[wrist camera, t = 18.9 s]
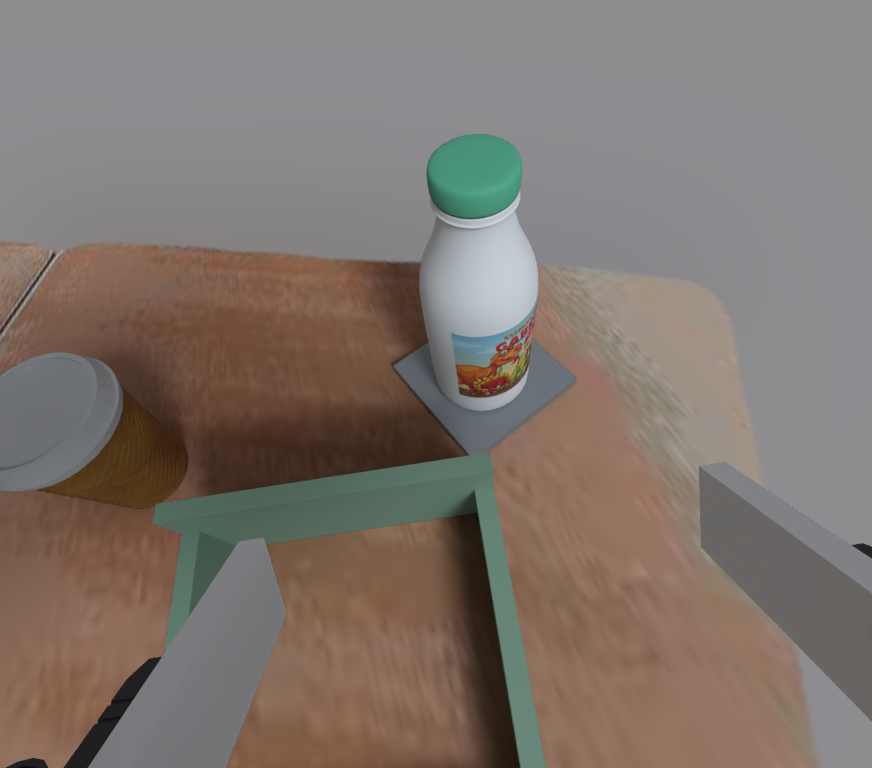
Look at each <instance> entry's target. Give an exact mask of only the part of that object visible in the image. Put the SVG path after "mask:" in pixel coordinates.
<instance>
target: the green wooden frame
mask: <svg viewBox="0 0 872 768" xmlns="http://www.w3.org/2000/svg"><path fill="white" fill-rule="evenodd" d="M473 513H477V514H478V520H479V526H480V532H481V538H482V544H483V550H484V556H485V562H486V568H487V574H488V580H489V586H490V593H491V599H492V605H493V611H494V617H495V623H496V629H497V635H498V641H499V647H500V653H501V659H502V665H503V671H504V677H505V683H506V690H507V696H508V702H509V708H510V714H511V720H512V726H513V732H514V738H515V744H516V750H517V756H518V762H519V768H546V766H545V760H544V755H543V750H542V744H541V739H540V734H539V728H538V723H537V718H536V712H535V707H534V702H533V696H532V691H531V685H530V680H529V675H528V669H527V664H526V659H525V653H524V648H523V643H522V637H521V632H520V627H519V621H518V616H517V611H516V605H515V600H514V595H513V589H512V584H511V579H510V573H509V568H508V563H507V557H506V552H505V547H504V541H503V536H502V531H501V525H500V520H499V515H498V509H497V504H496V498H495V493H494V488H493V467H492V462H491V457H490V452H489V453H482V454H476V455H469V456H463V457H456V458H450V459H443V460H437V461H430V462H424V463H417V464H411V465H404V466H398V467H391V468H385V469H378V470H372V471H365V472H359V473H352V474H346V475H339V476H333V477H326V478H320V479H313V480H307V481H300V482H294V483H287V484H281V485H274V486H268V487H261V488H255V489H248V490H242V491H235V492H229V493H222V494H216V495H209V496H203V497H196V498H190V499H183V500H177V501H170V502H164V503H157V504H156V505H155V511H154V517H153V522H152V524H154V525H157V526H160V527H163V528H166V529H169V530H171V531H174V532H177V533H180V534H182V535H181V542H180V548H179V555H178V562H177V569H176V576H175V582H174V589H173V596H172V603H171V610H170V617H169V623H168V630H167V637H166V644H165V651H164V653H165V652H166V650H167V649H168V647H169V646H170V644H171V643H172V641H173V640H174V638H175V637H176V635H177V634H178V632H179V631H180V629H181V628H182V626H183V625H184V623H185V622H186V620H187V619H188V617H189V616H190V614H191V613H192V611H193V610H194V608H195V607H196V605H197V604H198V602H199V601H200V599H201V598H202V596H203V595H204V593H205V592H206V590H207V589H208V587H209V586H210V584H211V583H212V581H213V580H214V578H215V577H216V575H217V574H218V572H219V571H220V569H221V568H222V566H223V565H224V563H225V562H226V560H227V559H228V557H229V556H230V554H231V553H232V551H233V550H234V548H235V547H236V545H237V544H238V542H239V541H245V540H251V539H257V538H263V537H264V539H265V543H266V544H273V543H279V542H286V541H293V540H299V539H306V538H313V537H319V536H326V535H333V534H339V533H346V532H353V531H360V530H366V529H373V528H380V527H386V526H393V525H400V524H406V523H413V522H420V521H426V520H433V519H440V518H446V517H453V516H460V515H466V514H473Z"/></svg>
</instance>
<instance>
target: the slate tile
mask: <svg viewBox="0 0 872 768" xmlns="http://www.w3.org/2000/svg"><path fill="white" fill-rule="evenodd" d="M393 367H394V370H395V372H396V373H397V375H398V376H399V377H400V378H401V379H402V380H403V382H404V383H405V384H406V385H407V386H408V387H409V389H410V390H411V391H412V392H413V393H414V394H415V396H416V397H417V398H418V399H419V400H420V402H421V403H422V404H423V405H424V406H425V407H426V409H427V410H428V411H429V412H430V413H431V414H432V416H433V417H434V418H435V419H436V420H437V421H438V423H439V424H440V425H441V426H442V427H443V428H444V430H445V431H446V432H447V433H448V434H449V435H450V437H451V438H452V439H453V440H454V441H455V443H456V444H457V445H458V446H459V447H460V448H461V450H462V451H463V452H464V453H465V454H466V455H467V456H469V455H476V454H482V453H487V452H488V451H489V450H491V449H492V448H493V447H495V446H496V445H497V444H498V443H500V442H501V441H502V440H504V439H505V438H506V437H507V436H509V435H510V434H511V433H513V432H514V431H515V430H516V429H518V428H519V427H520V426H522V425H523V424H524V423H525V422H527V421H528V420H529V419H531V418H532V417H533V416H534V415H536V414H537V413H538V412H540V411H541V410H542V409H544V408H545V407H546V406H547V405H549V404H550V403H551V402H553V401H554V400H555V399H556V398H558V397H559V396H560V395H562V394H563V393H564V392H565V391H567V390H568V389H569V388H571V387H572V386H573V385H574V384H575V382H576V379H577V378H576V377H575V376H574V375H573V374H572V373H571V372H569V371H568V370H567V369H566V368H565V367H564V366H563V365H562V364H561V363H559V362H558V361H557V360H556V359H555V358H554V357H553V356H552V355H551V354H549V353H548V352H547V351H546V350H545V349H544V348H543V347H542V346H541V345H539V344H538V343H537V342H536V341H535V340H534V339H533V341H532V348H531V356H530V363H529V370H528V375H527V379H526V383H525V385H524V387H523V389H522V390H521V392H520V393H519V394H518V396H517V397H516V398H514V399H513V400H512V401H511V402H509V403H508V404H506V405H504V406H502V407H500V408H496V409H493V410H487V411H475V410H469V409H466V408H463V407H460V406H458V405H456V404H455V403H453V402H452V401H450V400H449V399H448V398H447V397H446V396H445V395H444V394H443V392H442V391H441V389H440V387H439V385H438V383H437V379H436V376H435V372H434V367H433V362H432V358H431V353H430V348H429V343H428V342H427V343H426V344H424V345H423V346H421V347H420V348H418V349H417V350H416V351H414V352H413V353H411V354H410V355H408V356H407V357H405V358H404V359H402V360H401V361H399V362H398V363H397V364H395V365H394V366H393Z"/></svg>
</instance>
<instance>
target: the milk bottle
mask: <svg viewBox="0 0 872 768" xmlns="http://www.w3.org/2000/svg"><path fill="white" fill-rule="evenodd" d="M521 178H522V162H521V158H520V155H519V153H518V151H517V150H516V148H515V147H514V146H513V145H512V144H510V143H509V142H507V141H506V140H504V139H501V138H499V137H496V136H491V135H486V134H472V135H465V136H461V137H457V138H455V139H452V140H450V141H448V142H446V143H444V144H443V145H441V146H440V147H439V148H438V149H436V150H435V152H434V153H433V154H432V155H431V157H430V159H429V162H428V166H427V183H428V189H429V194H430V203H431V207H432V210H433V212H434V213H435V214H436V221H435V226H434V230H433V232H432V235H431V237H430V239H429V242H428V244H427V246H426V249H425V251H424V254H423V258H422V262H421V266H420V274H419V291H420V298H421V306H422V312H423V317H424V323H425V328H426V333H427V338H428V343H429V348H430V353H431V358H432V362H433V367H434V372H435V376H436V379H437V383H438V385H439V387H440V389H441V391H442V392H443V394H444V395H445V396H446V397H447V398H448V399H449V400H450V401H452V402H453V403H455V404H456V405H458V406H460V407H463V408H466V409H469V410H475V411H487V410H493V409H496V408H500V407H502V406H504V405H506V404H508V403H509V402H511V401H512V400H513V399H514V398H516V397H517V396H518V394H519V393H520V392H521V390H522V389H523V387H524V385H525V383H526V379H527V375H528V370H529V363H530V356H531V348H532V341H533V333H534V325H535V316H536V308H537V297H538V270H537V264H536V260H535V256H534V253H533V250H532V248H531V245H530V243H529V241H528V239H527V238H526V236H525V234H524V232H523V231H522V229H521V227H520V224H519V222H518V219H517V216H516V212H515V209H516V207H517V206H518V204H519V201H520V187H521Z"/></svg>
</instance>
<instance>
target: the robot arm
mask: <svg viewBox="0 0 872 768" xmlns="http://www.w3.org/2000/svg"><path fill="white" fill-rule="evenodd" d="M699 487H700V525H701V548H702V549H703V550H704V551H705V552H706V553H707V554H708V555H709V556H710V557H711V558H712V559H713V560H714V561H715V562H716V563H717V564H718V565H719V566H720V567H721V568H722V569H723V570H724V571H725V572H726V573H727V574H728V575H729V576H730V577H731V578H732V579H733V580H734V581H735V582H736V583H737V584H738V585H739V586H740V587H741V588H742V589H743V590H744V591H745V592H746V593H747V594H748V595H749V597H750V598H751V599H752V600H753V601H754V602H755V603H756V604H757V605H758V606H759V607H760V608H761V609H762V610H763V611H764V612H765V613H766V614H767V615H768V616H769V617H770V618H771V619H772V620H773V621H774V622H775V623H776V624H777V625H778V626H779V627H780V628H781V629H782V630H783V631H784V632H785V633H786V634H787V635H788V636H789V637H790V638H791V639H792V640H793V641H794V642H795V643H796V644H797V645H798V647H799V648H800V649H801V650H802V651H803V652H804V653H805V654H807V656H808V657H809V658H810V659H811V660H812V661H813V662H814V663H815V664H816V665H817V666H818V667H819V668H820V669H821V670H822V671H823V672H824V673H825V674H826V675H827V676H828V677H829V678H830V679H831V680H832V681H833V682H834V683H835V684H836V685H837V686H838V687H839V688H840V689H841V690H842V691H843V692H844V693H845V694H846V695H847V696H848V697H849V699H850V700H852V701H853V703H854V704H855V705H856V706H857V707H858V708H859V709H860V710H861V711H862V712H863V713H864V714H865V715H866V716H867V717H868V718H869V719H870V720H871V721H872V547H871V546H869V545H866V544H856V545H850V544H849V543H847V542H845V541H844V540H843V539H841V538H839V537H838V536H837V535H835V534H834V533H832V532H830V531H829V530H827V529H826V528H824V527H823V526H821V525H820V524H818V523H817V522H815V521H814V520H812V519H810V518H809V517H808V516H806V515H805V514H803V513H802V512H800V511H798V510H797V509H795V508H794V507H792V506H791V505H789V504H788V503H786V502H785V501H783V500H782V499H780V498H779V497H777V496H776V495H774V494H773V493H771V492H770V491H768V490H766V489H765V488H764V487H762V486H760V485H759V484H757V483H756V482H754V481H753V480H751V479H750V478H748V477H747V476H745V475H744V474H742V473H741V472H739V471H738V470H736V469H735V468H733V467H732V466H730V465H729V464H727V463H725V462H722V463H716V464H710V465H703V466H699ZM285 616H286V611H285V607H284V604H283V600H282V597H281V594H280V590H279V587H278V583H277V580H276V577H275V573H274V570H273V566H272V563H271V560H270V556H269V553H268V549H267V546H266V543H265V539H264V537H263V538H257V539H251V540H245V541H239V542H238V544H237V545H236V547H235V548H234V550H233V551H232V553H231V554H230V556H229V557H228V559H227V560H226V562H225V563H224V565H223V566H222V568H221V569H220V571H219V572H218V574H217V575H216V577H215V578H214V580H213V581H212V583H211V584H210V586H209V587H208V589H207V590H206V592H205V593H204V595H203V596H202V598H201V599H200V601H199V602H198V604H197V605H196V607H195V608H194V610H193V611H192V613H191V614H190V616H189V617H188V619H187V620H186V622H185V623H184V625H183V626H182V628H181V629H180V631H179V632H178V634H177V635H176V637H175V638H174V640H173V641H172V643H171V644H170V646H169V647H168V649H167V650H166V652H165V653H164V655H163V656H162V657H158V658H151V659H148V660H147V661H146V662H145V663H144V664H143V665H142V666H141V667H140V668H139V669H138V670H136V671H135V672H134V673H133V674H132V675H131V676H130V677H129V678H128V679H127V680H126V681H125V683H124V684H123V685H122V687H121V688H120V690H119V691H118V692H117V694H116V695H115V697H114V698H113V699H112V701H111V705H109V706H107V708H106V709H105V711H104V712H103V713H102V715H101V716H100V718H99V719H98V723H97V724H96V725H94V726H93V727H92V729H91V730H90V732H89V733H88V734H87V736H86V737H85V739H84V740H83V741H82V743H81V744H80V746H79V747H78V748H77V750H76V751H75V753H74V754H73V755H72V757H71V758H70V759H69V761H68V762H67V764H66V765H65V766H64V768H226V766H227V763H228V761H229V758H230V756H231V753H232V751H233V748H234V746H235V743H236V741H237V738H238V735H239V733H240V730H241V728H242V725H243V723H244V720H245V718H246V715H247V713H248V710H249V708H250V705H251V702H252V700H253V697H254V695H255V692H256V690H257V687H258V685H259V682H260V680H261V677H262V675H263V672H264V669H265V667H266V664H267V662H268V659H269V657H270V654H271V652H272V649H273V647H274V644H275V641H276V639H277V636H278V634H279V631H280V629H281V626H282V624H283V621H284V619H285ZM6 768H48V767H47V765H46V763H45V761H44V760H41V759H36V758H31V759H27V760H23V761H19V762H16V763H14V764H12V765H10V766H8V767H6Z"/></svg>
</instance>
